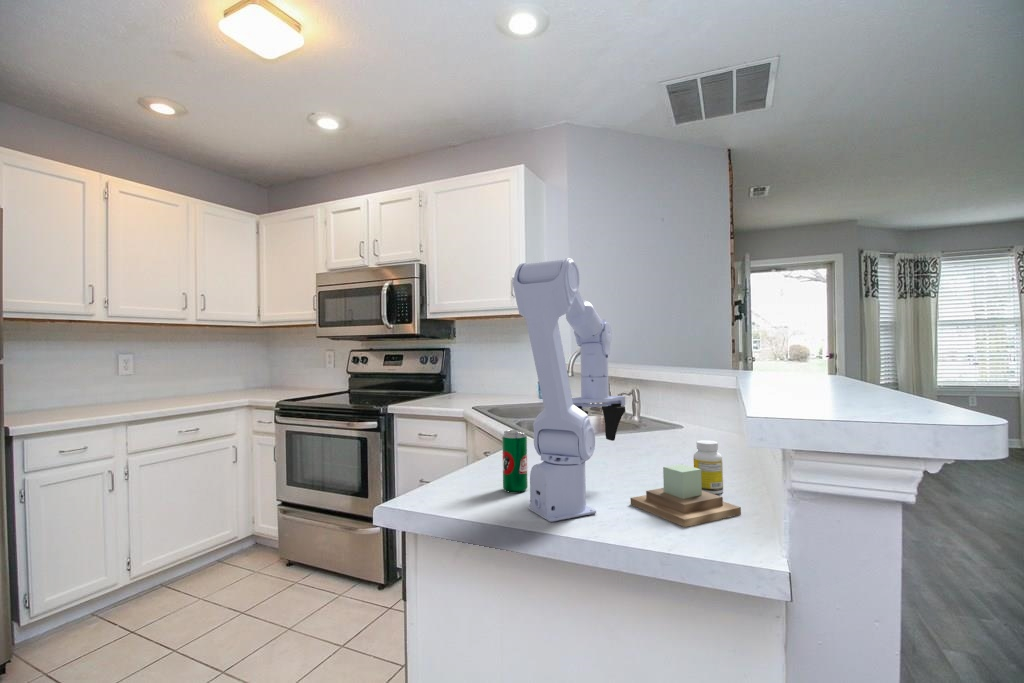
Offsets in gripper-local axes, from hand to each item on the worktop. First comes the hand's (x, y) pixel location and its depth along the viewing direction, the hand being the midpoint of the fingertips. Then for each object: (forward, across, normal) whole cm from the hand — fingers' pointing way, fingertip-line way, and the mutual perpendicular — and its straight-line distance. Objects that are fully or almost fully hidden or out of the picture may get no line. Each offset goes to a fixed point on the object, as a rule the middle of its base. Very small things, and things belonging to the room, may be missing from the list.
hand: (595, 441), depth 99 cm
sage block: (+7, -5, +19) cm, 21 cm away
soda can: (+10, +16, -6) cm, 20 cm away
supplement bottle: (+10, -18, +13) cm, 24 cm away
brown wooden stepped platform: (+9, -5, +19) cm, 22 cm away
